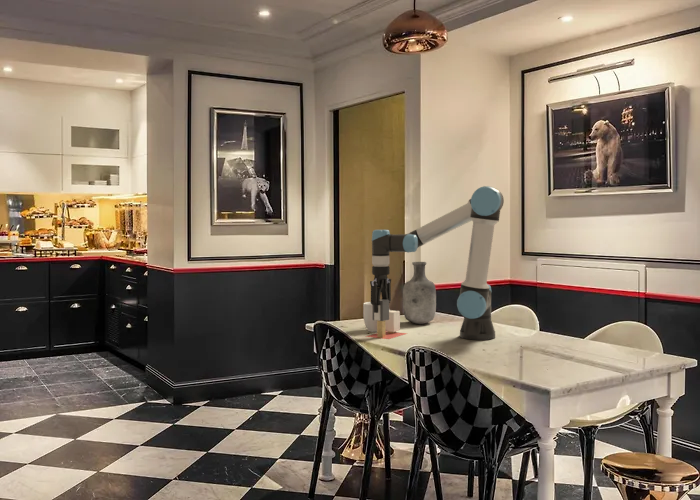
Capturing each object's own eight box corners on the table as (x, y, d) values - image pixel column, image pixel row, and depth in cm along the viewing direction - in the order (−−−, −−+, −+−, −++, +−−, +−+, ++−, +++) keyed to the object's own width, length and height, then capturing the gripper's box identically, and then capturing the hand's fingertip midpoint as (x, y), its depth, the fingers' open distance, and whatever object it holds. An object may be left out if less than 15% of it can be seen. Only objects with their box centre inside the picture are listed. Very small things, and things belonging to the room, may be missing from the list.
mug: (382, 327, 322) (382, 300, 321) (398, 330, 314) (398, 302, 313) (358, 331, 313) (358, 303, 312) (374, 334, 304) (374, 305, 303)
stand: (408, 334, 304) (408, 311, 303) (388, 340, 290) (388, 316, 290) (385, 331, 311) (385, 309, 310) (365, 337, 297) (365, 314, 297)
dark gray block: (389, 319, 295) (389, 299, 295) (382, 321, 291) (382, 301, 290) (379, 318, 298) (378, 298, 298) (372, 320, 294) (372, 300, 293)
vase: (398, 321, 338) (397, 261, 337) (428, 320, 343) (427, 260, 341) (410, 327, 323) (410, 263, 321) (441, 324, 328) (441, 262, 326)
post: (385, 337, 295) (385, 316, 295) (382, 338, 293) (382, 317, 293) (380, 336, 297) (380, 316, 296) (377, 337, 295) (377, 316, 294)
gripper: (384, 263, 303) (384, 315, 304) (361, 266, 288) (362, 321, 289) (399, 264, 298) (399, 317, 300) (376, 267, 284) (376, 322, 285)
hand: (380, 319), depth 294 cm, fingers closed on dark gray block, 5 cm apart
